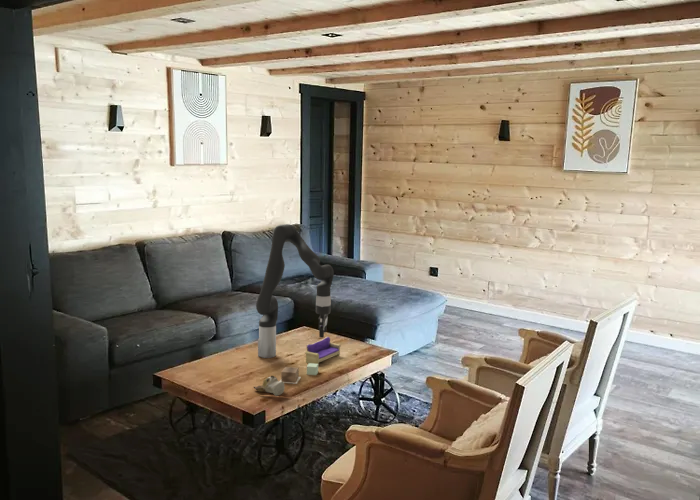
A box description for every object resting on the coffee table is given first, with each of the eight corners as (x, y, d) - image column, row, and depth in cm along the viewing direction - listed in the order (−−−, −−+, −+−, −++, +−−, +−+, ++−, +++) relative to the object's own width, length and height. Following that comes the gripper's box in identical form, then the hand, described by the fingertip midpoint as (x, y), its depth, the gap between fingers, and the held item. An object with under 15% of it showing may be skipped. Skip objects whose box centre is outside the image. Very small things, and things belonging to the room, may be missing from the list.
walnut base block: (281, 381, 297) (281, 371, 296) (284, 376, 303) (284, 366, 303) (295, 382, 296) (295, 372, 295) (298, 377, 303) (298, 367, 302)
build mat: (275, 384, 295) (275, 383, 295) (281, 375, 306) (281, 374, 306) (299, 386, 293) (299, 385, 293) (304, 377, 305) (304, 376, 305)
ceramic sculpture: (274, 381, 275) (251, 375, 284) (275, 400, 276) (252, 393, 285) (290, 375, 283) (268, 369, 293) (291, 393, 284) (269, 387, 294)
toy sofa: (317, 366, 321) (317, 348, 319) (304, 363, 326) (304, 344, 324) (340, 356, 338) (341, 338, 336) (328, 353, 343) (328, 335, 341)
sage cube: (306, 375, 307) (306, 366, 306) (308, 372, 312) (308, 363, 311) (316, 376, 306) (316, 367, 306) (318, 373, 311) (318, 363, 311)
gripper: (318, 300, 316) (317, 330, 319) (313, 307, 303) (313, 338, 305) (332, 300, 316) (332, 331, 318) (328, 307, 302) (328, 339, 304)
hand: (322, 334), depth 312 cm, fingers open, 8 cm apart
